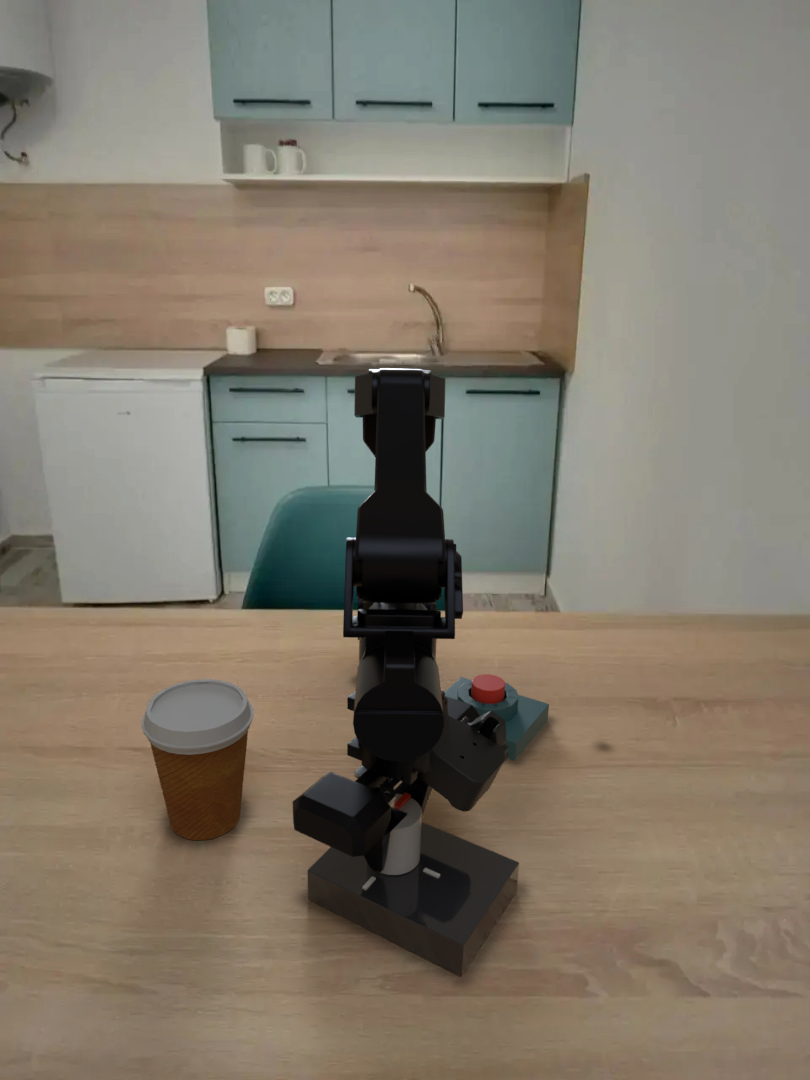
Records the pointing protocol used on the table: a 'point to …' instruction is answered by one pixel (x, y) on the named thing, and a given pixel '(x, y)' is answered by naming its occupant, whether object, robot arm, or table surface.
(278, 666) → the table surface
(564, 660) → the table surface
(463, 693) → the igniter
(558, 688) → the table surface
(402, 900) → the hob panel
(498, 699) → the button
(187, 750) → the disposable coffee cup
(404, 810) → the hob knob
